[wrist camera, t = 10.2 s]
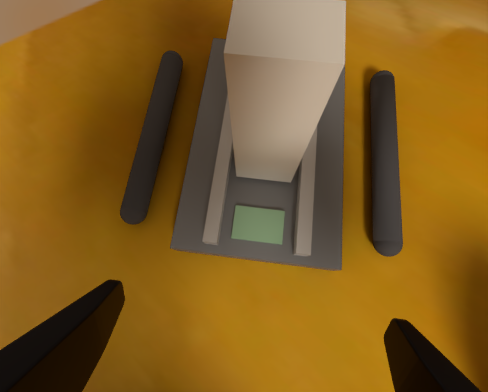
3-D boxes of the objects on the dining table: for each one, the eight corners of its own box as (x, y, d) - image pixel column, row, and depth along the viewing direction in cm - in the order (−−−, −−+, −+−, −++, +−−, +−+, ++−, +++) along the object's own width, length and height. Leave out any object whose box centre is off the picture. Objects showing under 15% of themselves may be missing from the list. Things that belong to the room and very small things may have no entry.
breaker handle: (290, 182, 16) (344, 64, 7) (236, 176, 17) (223, 52, 8) (293, 148, 17) (346, 0, 8) (241, 142, 17) (234, -8, 8)
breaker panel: (333, 270, 17) (347, 269, 14) (176, 250, 17) (165, 245, 15) (338, 65, 21) (350, 38, 19) (215, 53, 22) (211, 26, 19)
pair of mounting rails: (394, 258, 17) (409, 256, 15) (123, 224, 18) (112, 219, 16) (387, 82, 21) (398, 66, 19) (167, 61, 22) (161, 44, 20)
